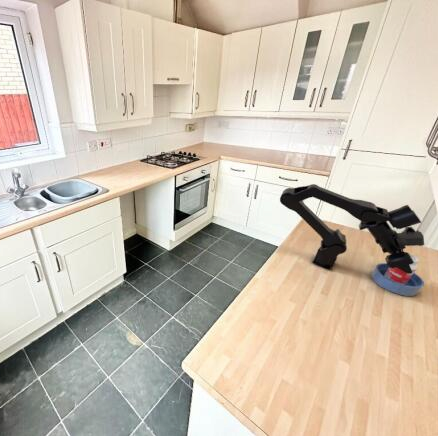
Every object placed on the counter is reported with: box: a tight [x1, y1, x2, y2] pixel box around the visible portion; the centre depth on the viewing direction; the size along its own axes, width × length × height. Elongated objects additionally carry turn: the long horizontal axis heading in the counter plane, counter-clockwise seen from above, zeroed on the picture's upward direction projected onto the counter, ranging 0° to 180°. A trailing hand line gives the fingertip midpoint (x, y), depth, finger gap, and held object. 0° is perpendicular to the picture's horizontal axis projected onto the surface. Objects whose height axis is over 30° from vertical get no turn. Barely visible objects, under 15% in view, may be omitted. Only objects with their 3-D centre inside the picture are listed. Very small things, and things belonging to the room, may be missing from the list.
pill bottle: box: [384, 253, 419, 285], centre depth 88 cm, size 6×6×11 cm
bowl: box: [370, 262, 425, 297], centre depth 91 cm, size 13×13×4 cm
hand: (408, 268), depth 87 cm, fingers closed on pill bottle, 6 cm apart
